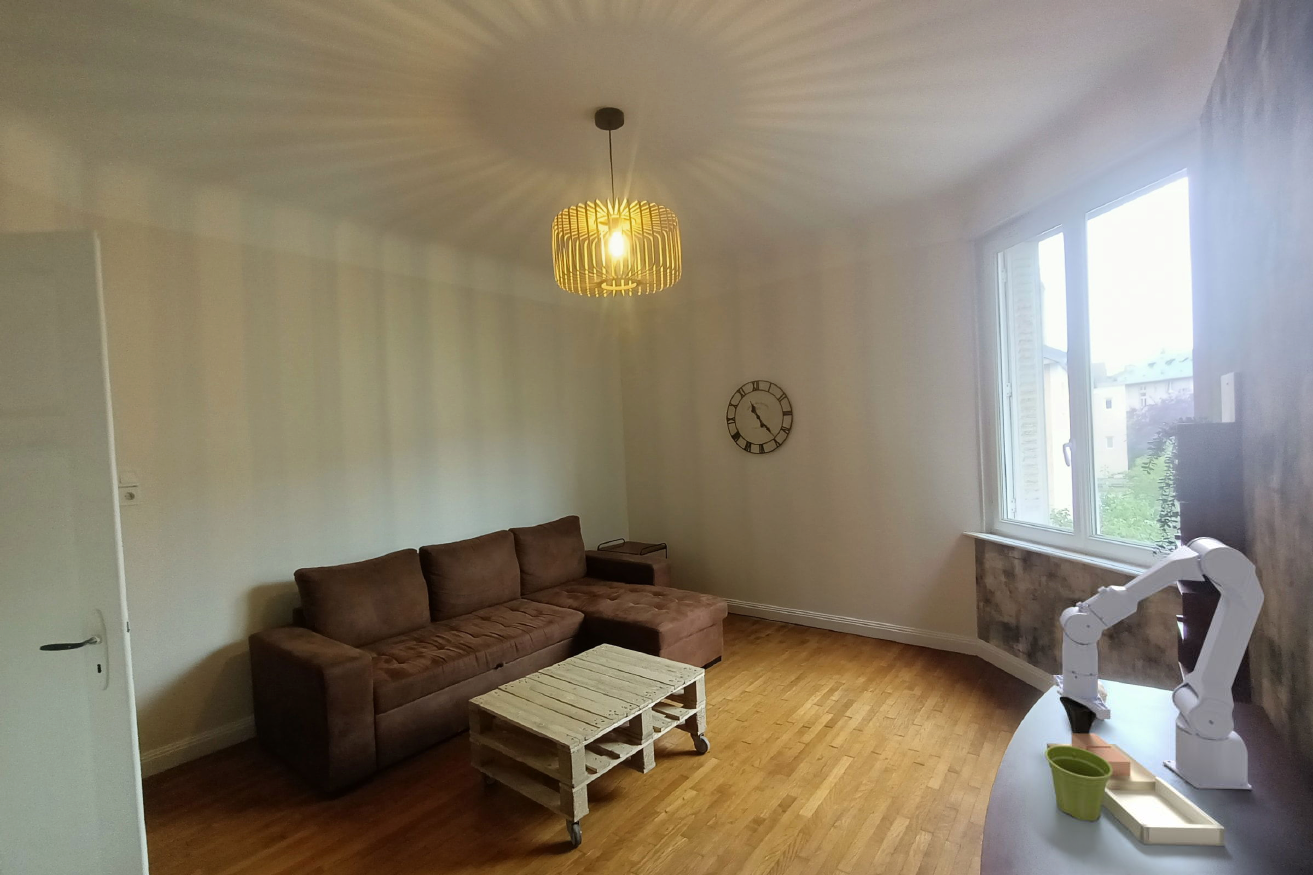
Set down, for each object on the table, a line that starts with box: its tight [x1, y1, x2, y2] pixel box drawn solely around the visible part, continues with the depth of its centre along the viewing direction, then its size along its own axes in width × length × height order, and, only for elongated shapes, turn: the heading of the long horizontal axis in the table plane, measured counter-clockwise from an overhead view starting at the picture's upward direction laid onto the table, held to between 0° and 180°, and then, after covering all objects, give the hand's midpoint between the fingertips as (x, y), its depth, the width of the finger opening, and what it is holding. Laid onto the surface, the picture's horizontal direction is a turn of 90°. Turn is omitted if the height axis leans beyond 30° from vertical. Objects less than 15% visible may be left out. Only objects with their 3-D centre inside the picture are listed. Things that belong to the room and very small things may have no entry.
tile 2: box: [1088, 748, 1130, 775], centre depth 109 cm, size 4×4×2 cm
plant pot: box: [1044, 746, 1113, 822], centre depth 101 cm, size 9×9×9 cm
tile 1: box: [1070, 733, 1111, 751], centre depth 114 cm, size 4×4×2 cm
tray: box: [1102, 776, 1226, 847], centre depth 99 cm, size 12×13×3 cm
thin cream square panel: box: [1046, 742, 1157, 791], centre depth 111 cm, size 13×12×2 cm
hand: (1080, 736), depth 117 cm, fingers closed
